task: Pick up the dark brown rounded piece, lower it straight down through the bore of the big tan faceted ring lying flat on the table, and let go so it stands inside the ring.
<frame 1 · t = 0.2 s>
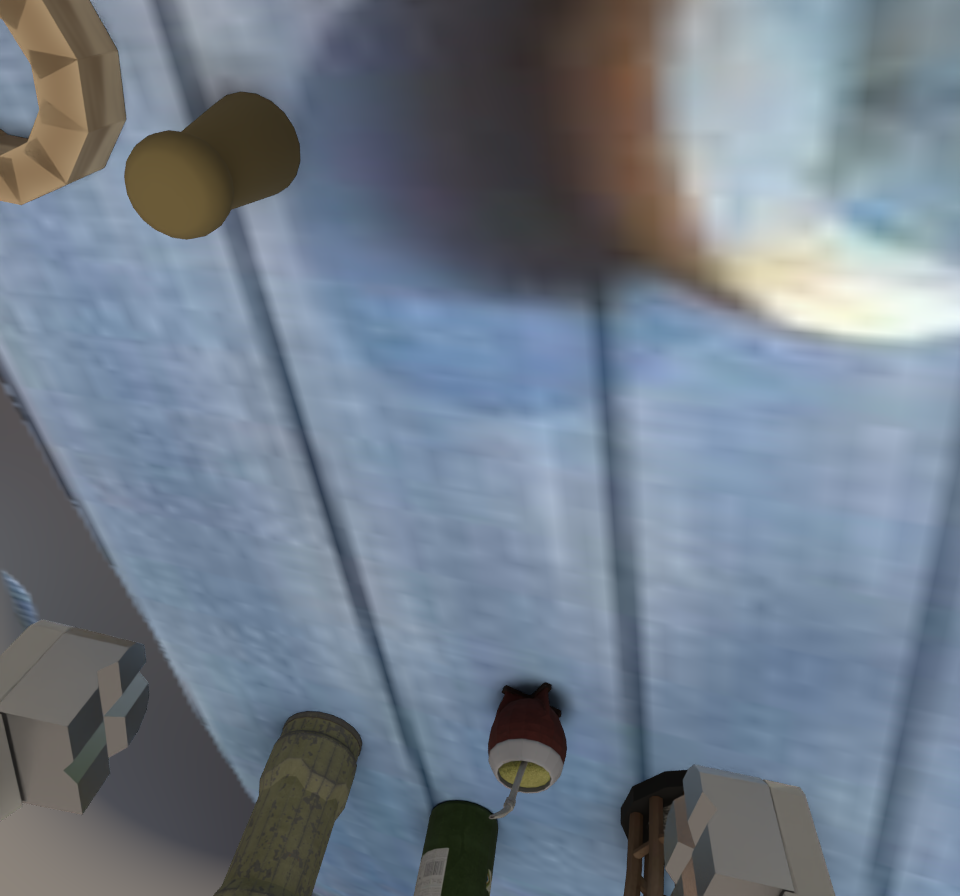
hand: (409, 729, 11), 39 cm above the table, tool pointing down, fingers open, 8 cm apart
wine bottle: (464, 817, 84), on the table
thermos: (323, 734, 79), on the table
dark brown rounded piece: (253, 145, 45), on the table
tan faceted ring: (10, 64, 44), on the table
mate gourd: (529, 695, 71), on the table
lantern: (701, 813, 77), on the table
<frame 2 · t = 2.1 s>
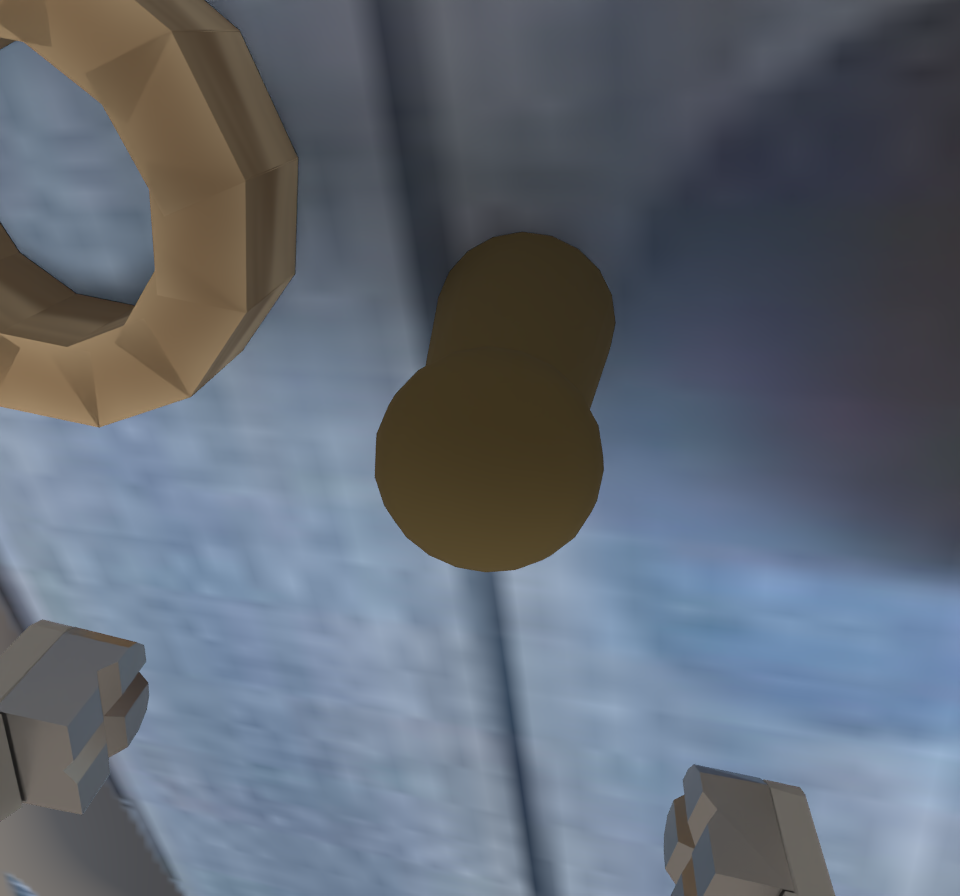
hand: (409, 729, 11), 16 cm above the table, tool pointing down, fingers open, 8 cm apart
dark brown rounded piece: (524, 320, 25), on the table
tan faceted ring: (92, 178, 24), on the table
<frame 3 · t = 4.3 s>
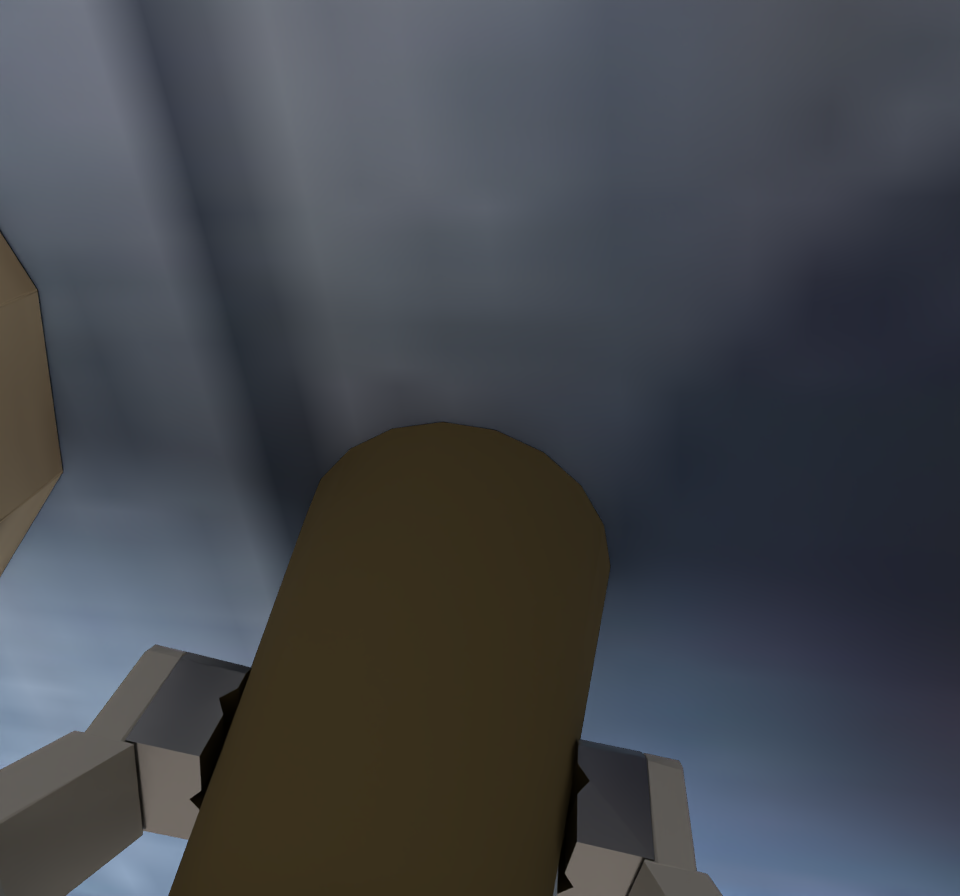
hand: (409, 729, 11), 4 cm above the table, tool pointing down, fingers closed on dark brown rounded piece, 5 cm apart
dark brown rounded piece: (455, 554, 15), on the table, touching gripper
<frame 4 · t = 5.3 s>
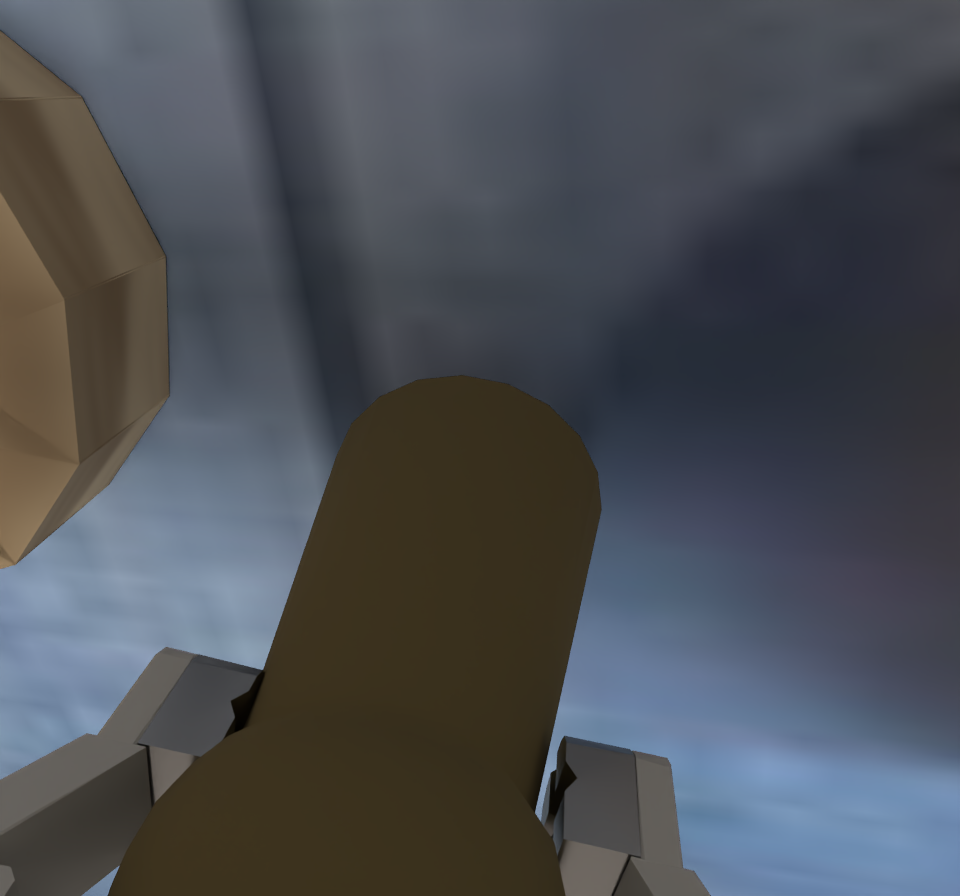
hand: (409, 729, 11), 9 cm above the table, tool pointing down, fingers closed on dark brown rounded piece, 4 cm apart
dark brown rounded piece: (466, 495, 17), point 3 cm above the table, touching gripper
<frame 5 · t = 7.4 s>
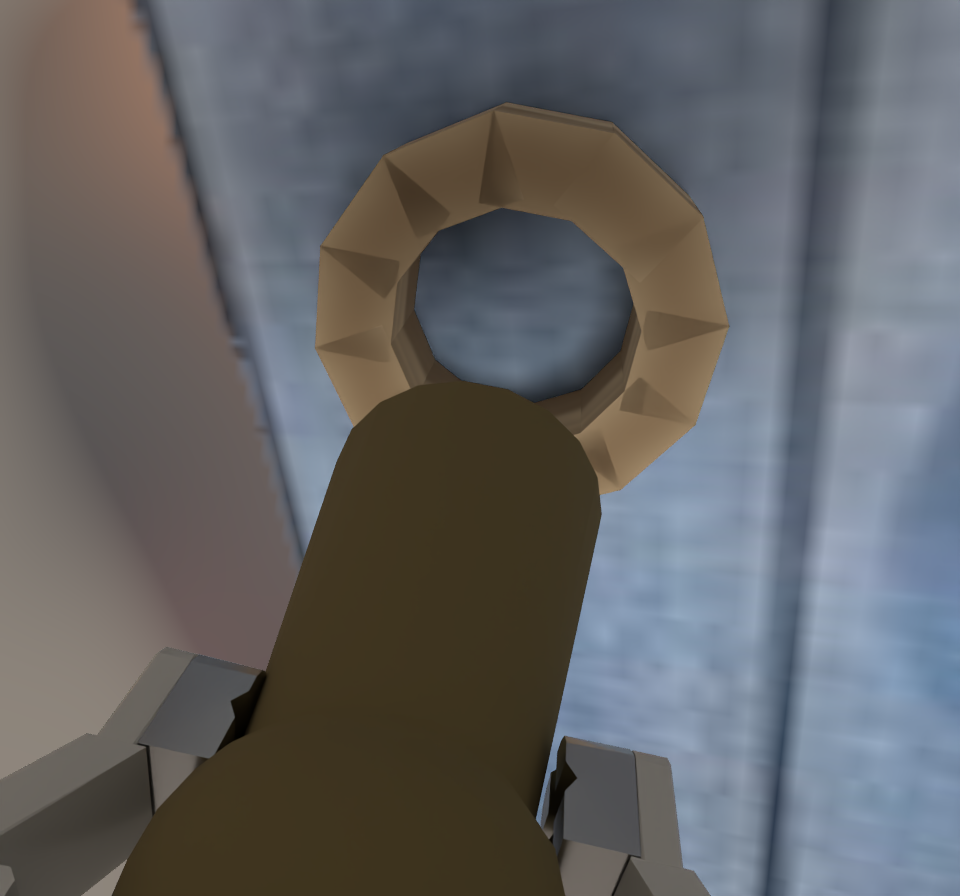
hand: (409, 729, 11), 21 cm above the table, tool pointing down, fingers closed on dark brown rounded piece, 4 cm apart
dark brown rounded piece: (466, 500, 17), point 14 cm above the table, touching gripper
tan faceted ring: (521, 303, 29), on the table
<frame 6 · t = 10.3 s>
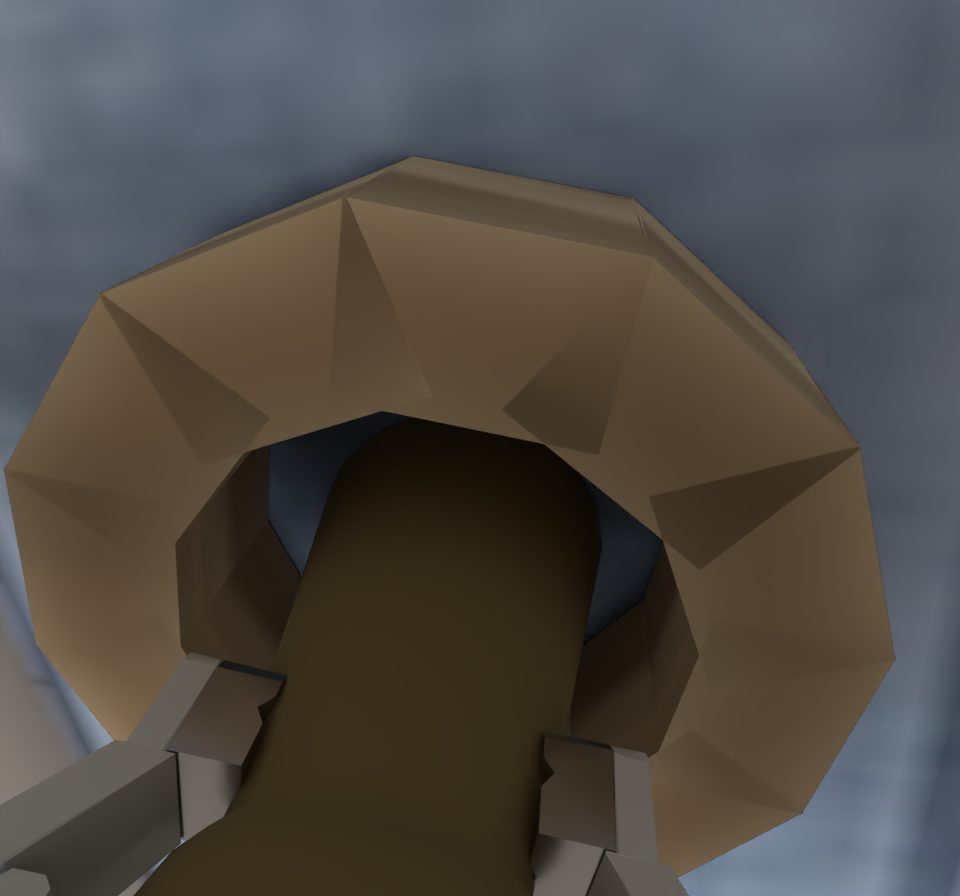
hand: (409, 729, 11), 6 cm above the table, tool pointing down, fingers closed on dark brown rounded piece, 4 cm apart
dark brown rounded piece: (462, 533, 16), resting in tan faceted ring, touching gripper
tan faceted ring: (461, 517, 16), on the table
when the fingers open (6 cm above the table, at t = 10.6 s): dark brown rounded piece stays where it is, resting in tan faceted ring.
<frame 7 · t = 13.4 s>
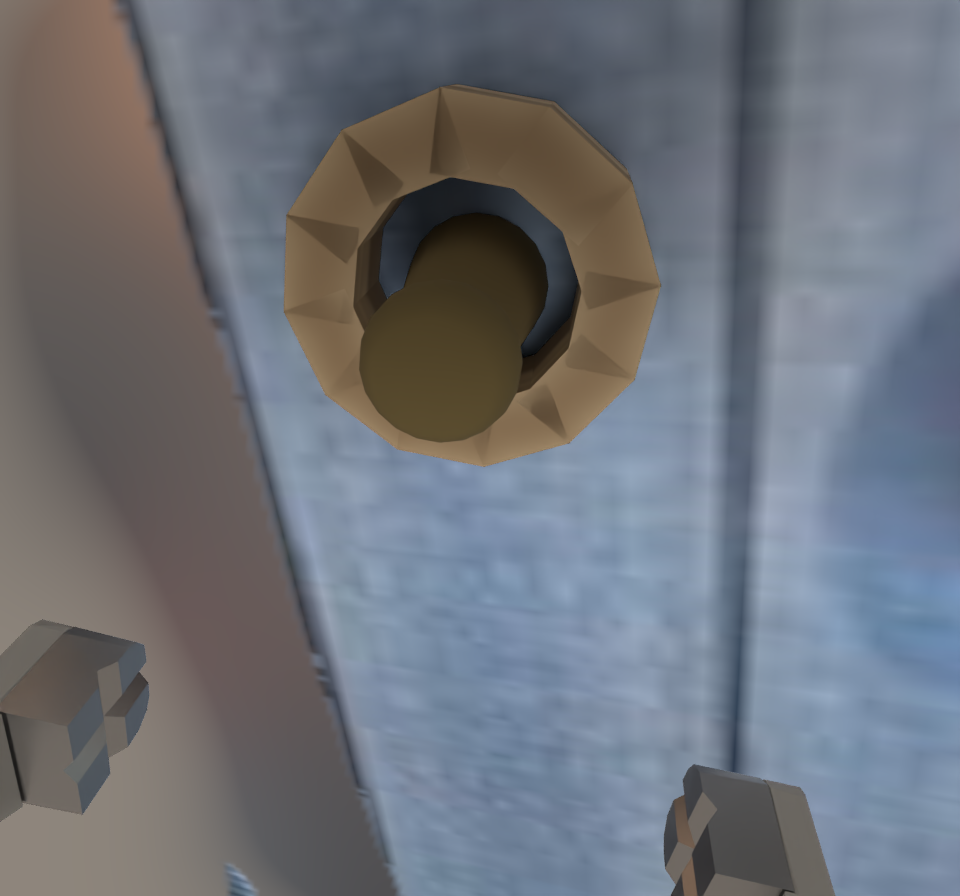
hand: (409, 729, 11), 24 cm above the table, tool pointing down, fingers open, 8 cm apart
dark brown rounded piece: (478, 284, 32), resting in tan faceted ring
tan faceted ring: (477, 272, 31), on the table
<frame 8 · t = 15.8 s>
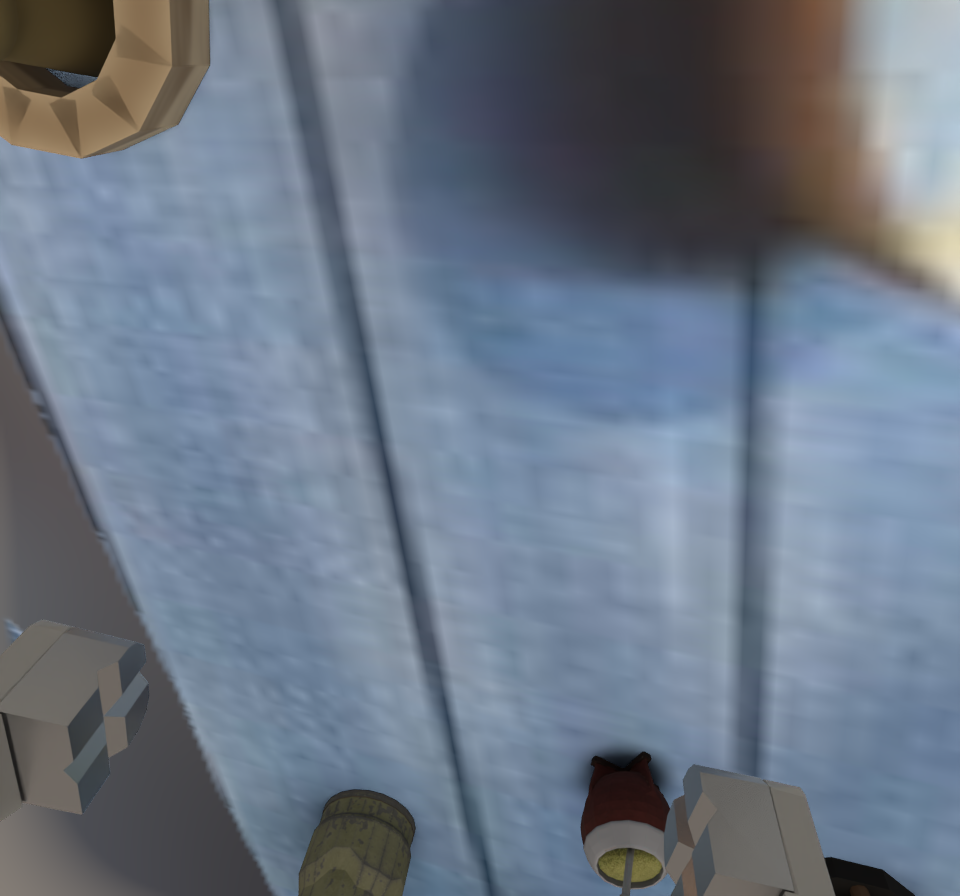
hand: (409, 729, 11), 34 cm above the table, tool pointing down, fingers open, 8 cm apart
thermos: (369, 818, 68), on the table
dark brown rounded piece: (84, 12, 39), resting in tan faceted ring
tan faceted ring: (79, 0, 38), on the table
mate gourd: (622, 767, 60), on the table
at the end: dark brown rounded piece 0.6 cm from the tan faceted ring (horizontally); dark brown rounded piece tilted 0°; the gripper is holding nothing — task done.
